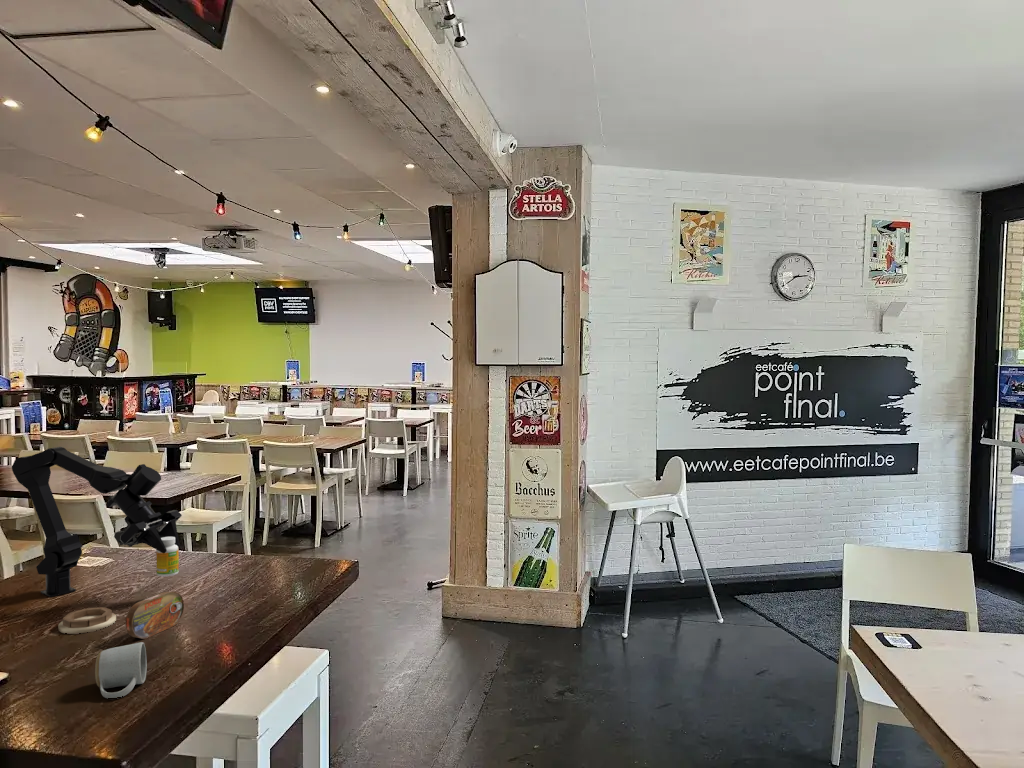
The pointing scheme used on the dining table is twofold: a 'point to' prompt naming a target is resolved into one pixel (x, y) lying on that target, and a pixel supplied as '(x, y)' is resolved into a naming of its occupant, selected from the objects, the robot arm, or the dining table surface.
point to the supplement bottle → (168, 558)
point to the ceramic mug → (121, 668)
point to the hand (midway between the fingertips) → (172, 549)
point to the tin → (154, 614)
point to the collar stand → (87, 620)
